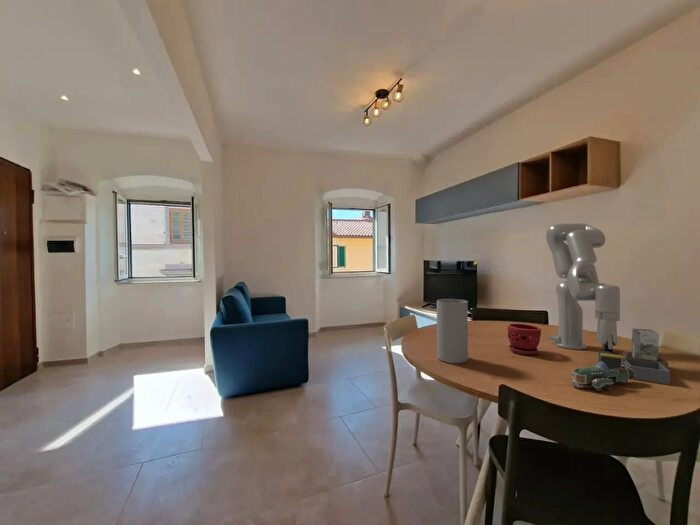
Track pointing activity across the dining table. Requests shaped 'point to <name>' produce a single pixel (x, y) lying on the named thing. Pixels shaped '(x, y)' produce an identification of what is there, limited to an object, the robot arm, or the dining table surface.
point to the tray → (648, 370)
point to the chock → (610, 359)
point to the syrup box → (645, 344)
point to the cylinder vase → (452, 330)
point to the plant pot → (524, 338)
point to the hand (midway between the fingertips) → (607, 361)
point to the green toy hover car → (601, 376)
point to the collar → (660, 360)
